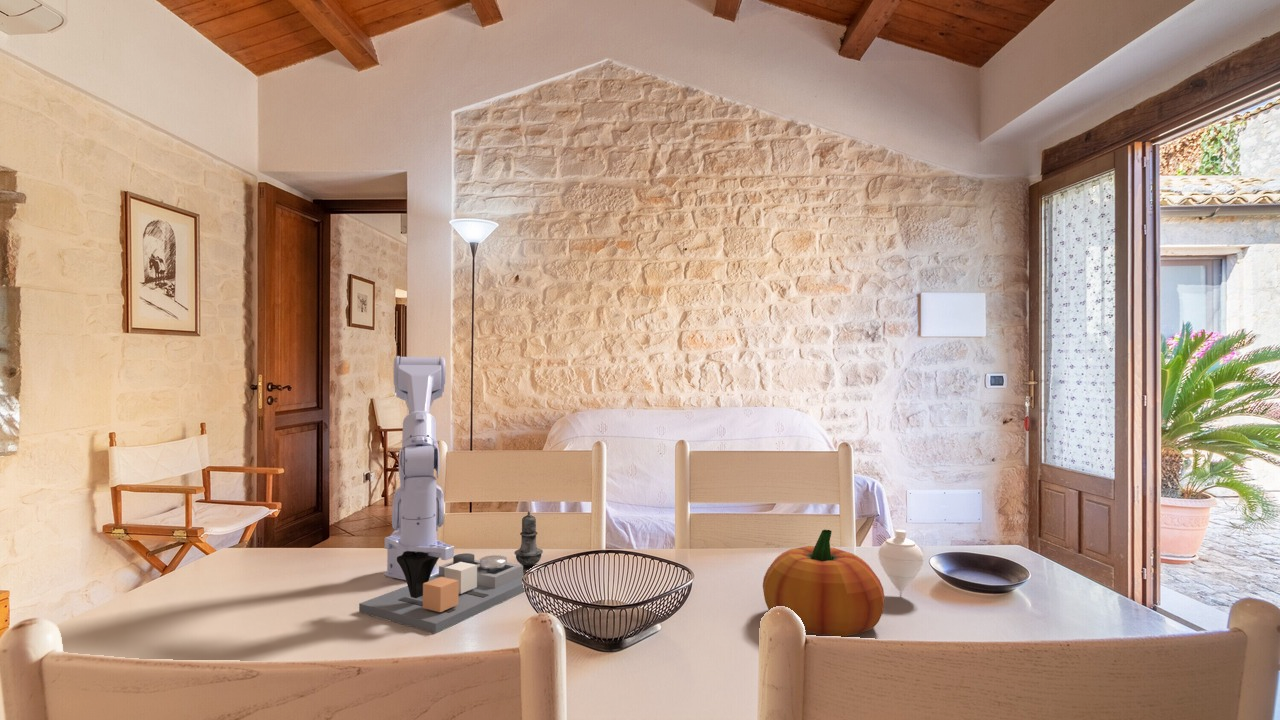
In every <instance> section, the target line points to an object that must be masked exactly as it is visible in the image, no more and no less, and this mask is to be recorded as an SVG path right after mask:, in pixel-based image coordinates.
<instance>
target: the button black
mask: <svg viewBox="0 0 1280 720" xmlns="http://www.w3.org/2000/svg"><path fill="white" fill-rule="evenodd" d="M452 560H453V561H452V562H453V564H456V563H459V562H465V563H470V564H474V560H475V554H474V553H466V552H465V553H458V554H456V555H455V554H454V558H452Z"/></svg>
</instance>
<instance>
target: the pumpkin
mask: <svg viewBox="0 0 1280 720" xmlns="http://www.w3.org/2000/svg"><path fill="white" fill-rule="evenodd" d="M831 536H832V530H830V529H822V530H821V532H820V534H819V537H818V538H817V540H816V543H815V545H814V546H812V545H807V546H800V547H796V548H791V549H788V550H785V551H784V552H782V553H781V554H779V555H778V556H777V557H776V558H775V559H774V560H773V562H772V563H771V564H770V565H769V567H768V568H767V570H766V571H765V575H764V576H763V581H762V590H763V598H764V602H765V604H766V607H767V609H768V611H769V610H770V609H771V608H773V607H776V606H785V607H788V608H790V609H791V610H793V611H794V612H795V613H796V614H797V615H798V616H799V617H800V618H801V620H802V622H803V624H804V626H805V630H806V632H805V633H809V634H815V635H823V636H836V637H837V636H838V637H848V636H853V635H857V634H861V633H864V632H867V631H869V630H872V629H873V628H875V626H876V625H877V624H878V623H879V621H880V619H881V617H882V615H883V611H884V602H885V592H884V587H883V585H882V582H881V580H880V578H879V577H878V576H877V574H876V573H875V572H874V570H873V569H872V567H871V566H870V565H869V564H868V563H867V562H866V561H865V560H863V558H862V557H859V556H858V555H856V554H854V553H851V552H848V551H845V550H842V549H839V548H835V547H831V543H830V542H831Z"/></svg>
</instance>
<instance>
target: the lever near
mask: <svg viewBox="0 0 1280 720" xmlns="http://www.w3.org/2000/svg"><path fill="white" fill-rule="evenodd" d="M458 596H459V580H455V579H450V578H445V577H439V578H436V579H434V580H431V581H428V582H426V583H423V608H425V609H429V610H433V611H437V612H442V611H444V610H447V609H449V608H451V607H454V606H456V605H458Z"/></svg>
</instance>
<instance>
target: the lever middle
mask: <svg viewBox="0 0 1280 720" xmlns="http://www.w3.org/2000/svg"><path fill="white" fill-rule="evenodd" d="M444 577H445V578H450V579H455V580H459V593H460V594H462V593H464V592H466V591H469V590H471V589H474V588H476V587H477V565H475V564H470V563H465V562H459V563H456V564H453V565H450V566H447V567H445V568H444Z"/></svg>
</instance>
